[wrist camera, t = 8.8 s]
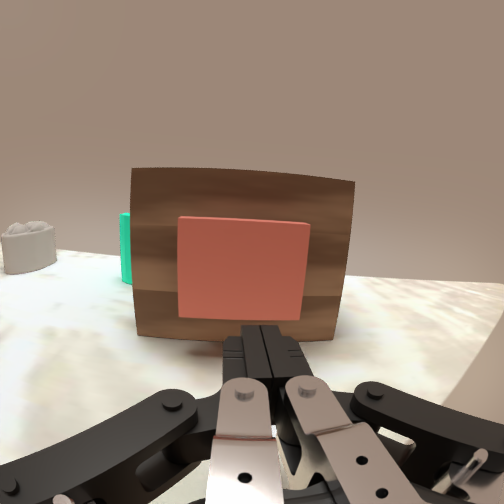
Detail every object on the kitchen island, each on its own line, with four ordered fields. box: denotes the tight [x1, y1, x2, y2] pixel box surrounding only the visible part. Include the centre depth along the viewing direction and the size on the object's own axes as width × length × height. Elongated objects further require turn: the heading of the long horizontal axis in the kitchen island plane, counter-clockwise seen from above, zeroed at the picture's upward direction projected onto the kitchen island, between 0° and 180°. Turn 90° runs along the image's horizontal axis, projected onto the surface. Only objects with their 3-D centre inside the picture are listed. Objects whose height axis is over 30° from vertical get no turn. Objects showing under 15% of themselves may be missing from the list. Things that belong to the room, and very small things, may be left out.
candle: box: [120, 213, 132, 284], centre depth 40 cm, size 6×6×12 cm
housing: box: [130, 168, 355, 341], centre depth 30 cm, size 12×20×16 cm, turn 95°
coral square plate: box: [177, 216, 311, 320], centre depth 25 cm, size 10×10×8 cm
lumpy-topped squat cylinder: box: [1, 221, 57, 275], centre depth 39 cm, size 10×13×9 cm
